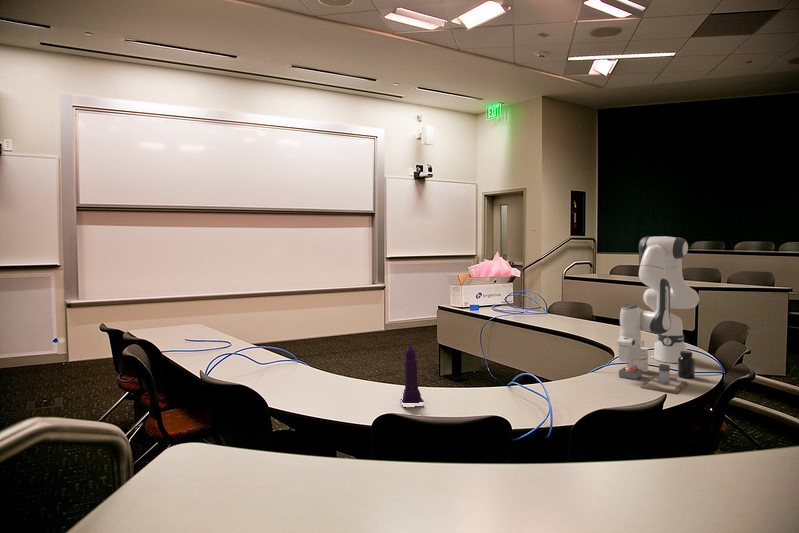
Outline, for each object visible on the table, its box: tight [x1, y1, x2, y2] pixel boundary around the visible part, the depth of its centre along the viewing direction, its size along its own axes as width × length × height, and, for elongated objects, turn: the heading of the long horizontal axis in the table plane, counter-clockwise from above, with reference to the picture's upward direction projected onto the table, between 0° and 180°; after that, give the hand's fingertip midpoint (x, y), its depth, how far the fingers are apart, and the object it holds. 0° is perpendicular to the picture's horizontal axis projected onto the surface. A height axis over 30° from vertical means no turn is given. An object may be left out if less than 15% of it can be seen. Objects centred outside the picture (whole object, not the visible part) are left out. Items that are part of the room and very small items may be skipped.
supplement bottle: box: [677, 350, 696, 380], centre depth 223 cm, size 7×7×12 cm
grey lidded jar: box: [658, 363, 671, 384], centre depth 210 cm, size 4×4×8 cm
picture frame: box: [640, 376, 688, 395], centre depth 211 cm, size 18×14×2 cm
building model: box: [400, 337, 425, 403], centre depth 195 cm, size 9×6×30 cm
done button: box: [625, 366, 636, 372], centre depth 226 cm, size 4×4×3 cm
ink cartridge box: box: [633, 340, 649, 373], centre depth 236 cm, size 9×5×15 cm, turn 84°
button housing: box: [618, 366, 643, 381], centre depth 226 cm, size 8×8×3 cm
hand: (630, 367), depth 226 cm, fingers closed
